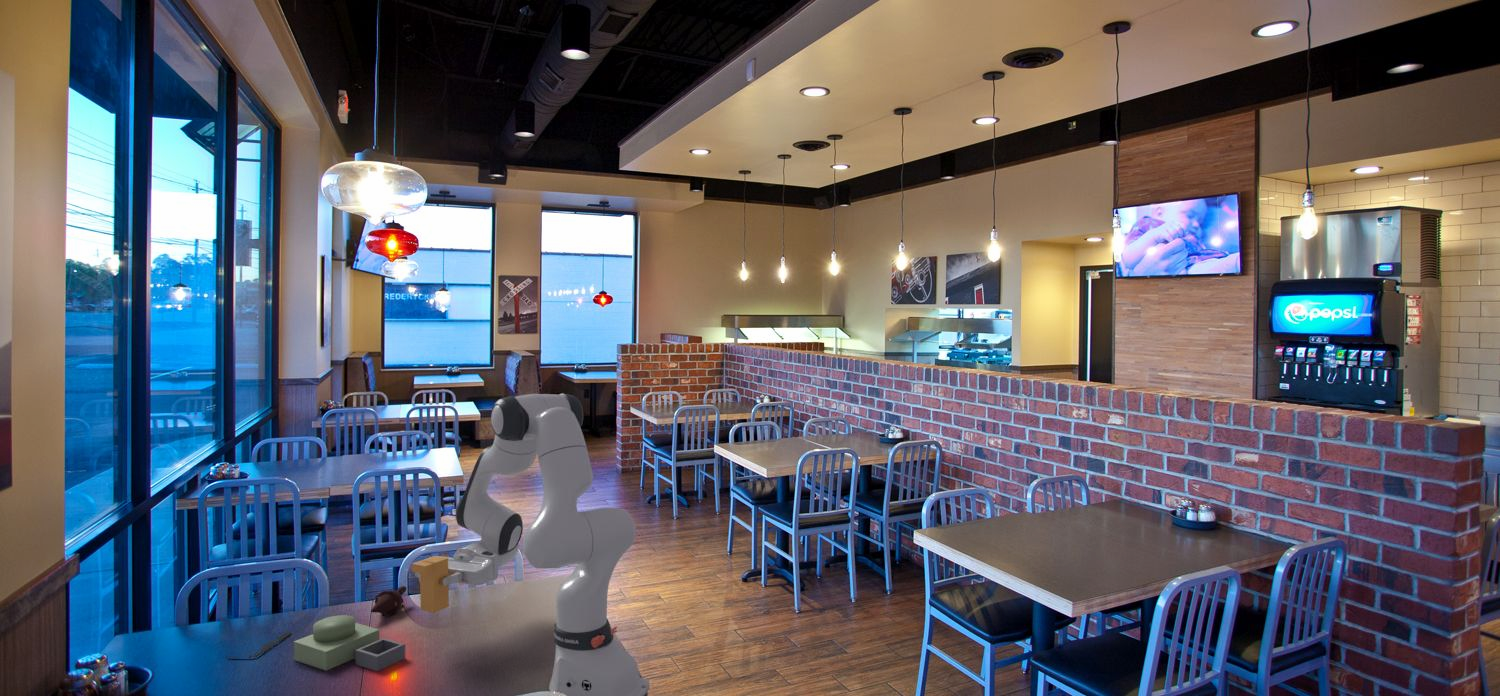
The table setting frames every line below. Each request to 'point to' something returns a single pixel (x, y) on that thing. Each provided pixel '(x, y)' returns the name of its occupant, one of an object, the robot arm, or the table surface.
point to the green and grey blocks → (346, 645)
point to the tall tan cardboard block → (432, 583)
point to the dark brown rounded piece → (389, 601)
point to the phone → (269, 645)
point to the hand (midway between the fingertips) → (431, 580)
